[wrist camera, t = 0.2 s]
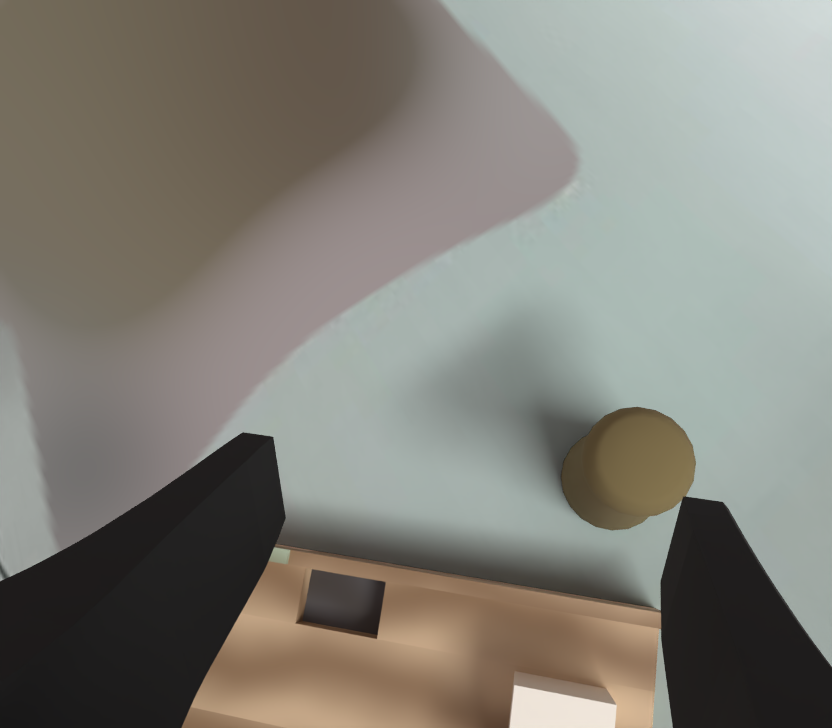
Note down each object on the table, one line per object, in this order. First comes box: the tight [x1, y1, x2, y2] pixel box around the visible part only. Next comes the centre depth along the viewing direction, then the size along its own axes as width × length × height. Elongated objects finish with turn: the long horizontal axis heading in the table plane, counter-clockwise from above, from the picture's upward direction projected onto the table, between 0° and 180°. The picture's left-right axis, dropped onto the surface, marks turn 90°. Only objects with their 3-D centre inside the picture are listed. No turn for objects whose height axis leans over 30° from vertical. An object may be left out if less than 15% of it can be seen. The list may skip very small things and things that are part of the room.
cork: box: [561, 407, 696, 530], centre depth 36 cm, size 6×6×11 cm
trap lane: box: [182, 544, 661, 728], centre depth 39 cm, size 14×29×4 cm, turn 81°
